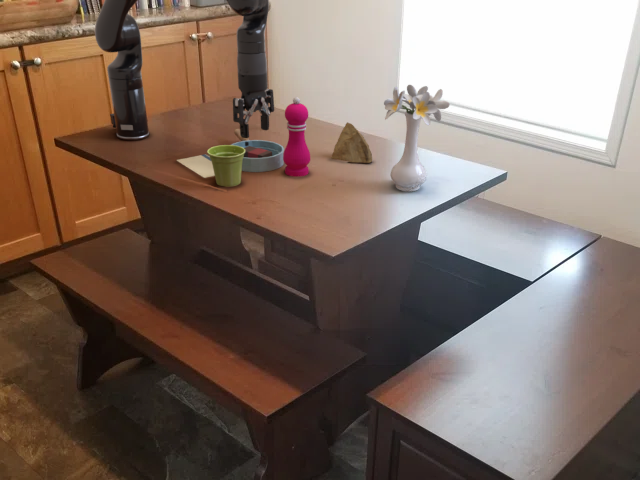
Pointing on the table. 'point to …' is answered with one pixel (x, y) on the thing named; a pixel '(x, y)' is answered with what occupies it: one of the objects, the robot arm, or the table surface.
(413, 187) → the flower vase
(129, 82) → the robot arm
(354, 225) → the table surface
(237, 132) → the pan handle
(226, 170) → the plant pot
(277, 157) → the pan
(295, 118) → the pepper mill
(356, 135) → the rock
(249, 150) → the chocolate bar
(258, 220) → the table surface
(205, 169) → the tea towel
